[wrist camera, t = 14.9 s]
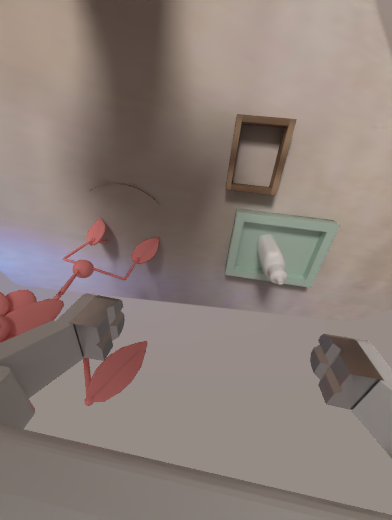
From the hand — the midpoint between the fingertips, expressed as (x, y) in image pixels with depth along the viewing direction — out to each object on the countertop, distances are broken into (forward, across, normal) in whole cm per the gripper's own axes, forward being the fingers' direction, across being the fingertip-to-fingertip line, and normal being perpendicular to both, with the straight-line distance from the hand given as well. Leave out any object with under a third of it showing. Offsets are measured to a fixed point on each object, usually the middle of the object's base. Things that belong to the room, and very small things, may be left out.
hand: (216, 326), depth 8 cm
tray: (+31, -11, +9) cm, 34 cm away
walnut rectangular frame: (+31, -4, -6) cm, 32 cm away
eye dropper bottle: (+30, -9, +9) cm, 33 cm away
